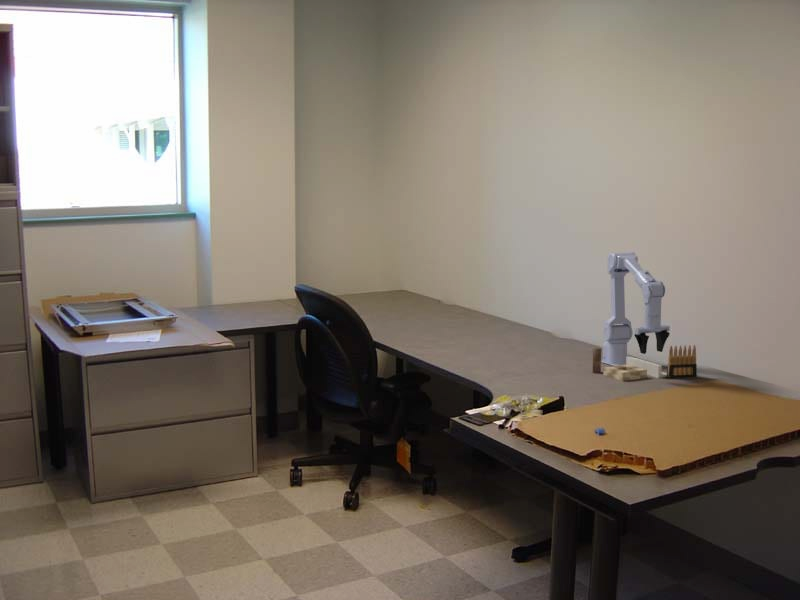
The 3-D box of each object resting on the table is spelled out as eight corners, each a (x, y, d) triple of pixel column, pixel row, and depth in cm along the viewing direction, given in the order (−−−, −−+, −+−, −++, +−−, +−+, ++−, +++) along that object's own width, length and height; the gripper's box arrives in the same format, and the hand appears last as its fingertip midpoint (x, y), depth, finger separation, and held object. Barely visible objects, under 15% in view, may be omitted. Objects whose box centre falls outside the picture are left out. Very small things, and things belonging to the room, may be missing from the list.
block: (603, 374, 319) (603, 367, 318) (627, 371, 323) (627, 364, 323) (622, 381, 309) (622, 373, 308) (646, 377, 313) (647, 369, 313)
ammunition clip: (668, 378, 312) (669, 346, 310) (666, 377, 314) (667, 345, 312) (696, 377, 313) (698, 345, 311) (694, 376, 315) (695, 344, 313)
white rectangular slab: (626, 368, 329) (626, 356, 328) (637, 366, 331) (637, 355, 331) (658, 378, 313) (658, 365, 312) (670, 376, 315) (670, 364, 314)
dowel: (590, 372, 323) (591, 348, 322) (597, 371, 325) (597, 347, 323) (595, 373, 321) (596, 350, 319) (602, 372, 322) (602, 349, 321)
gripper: (644, 318, 301) (643, 356, 303) (676, 315, 307) (674, 352, 309) (630, 315, 308) (629, 352, 310) (662, 312, 314) (661, 348, 316)
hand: (651, 352), depth 310 cm, fingers open, 7 cm apart
